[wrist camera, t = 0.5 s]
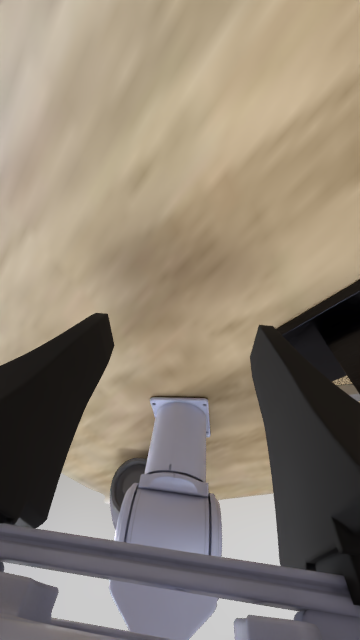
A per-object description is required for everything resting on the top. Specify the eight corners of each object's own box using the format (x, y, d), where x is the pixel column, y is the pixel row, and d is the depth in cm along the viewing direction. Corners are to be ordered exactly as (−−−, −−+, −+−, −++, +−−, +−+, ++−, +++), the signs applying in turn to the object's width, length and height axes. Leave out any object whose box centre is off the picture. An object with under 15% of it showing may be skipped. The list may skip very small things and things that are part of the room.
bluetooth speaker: (119, 445, 41) (96, 516, 32) (168, 454, 40) (158, 527, 32) (122, 489, 54) (107, 546, 46) (160, 495, 54) (151, 554, 46)
